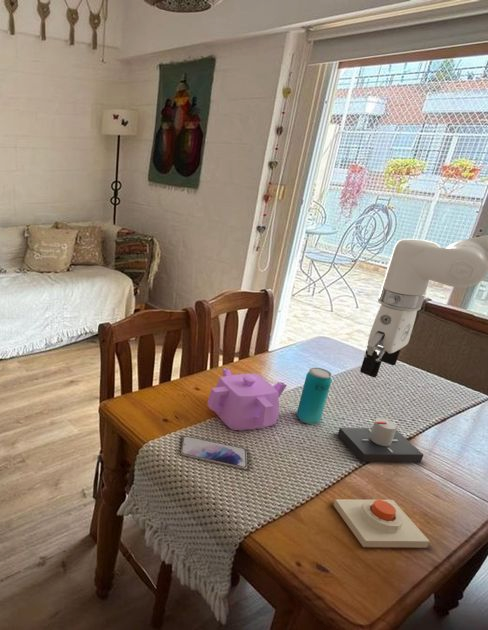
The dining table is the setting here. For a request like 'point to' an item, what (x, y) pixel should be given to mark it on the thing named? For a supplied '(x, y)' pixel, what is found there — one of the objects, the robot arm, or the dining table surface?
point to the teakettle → (245, 401)
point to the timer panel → (379, 447)
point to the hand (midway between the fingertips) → (377, 368)
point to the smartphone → (214, 452)
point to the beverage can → (314, 395)
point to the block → (379, 525)
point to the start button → (383, 510)
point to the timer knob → (383, 431)
